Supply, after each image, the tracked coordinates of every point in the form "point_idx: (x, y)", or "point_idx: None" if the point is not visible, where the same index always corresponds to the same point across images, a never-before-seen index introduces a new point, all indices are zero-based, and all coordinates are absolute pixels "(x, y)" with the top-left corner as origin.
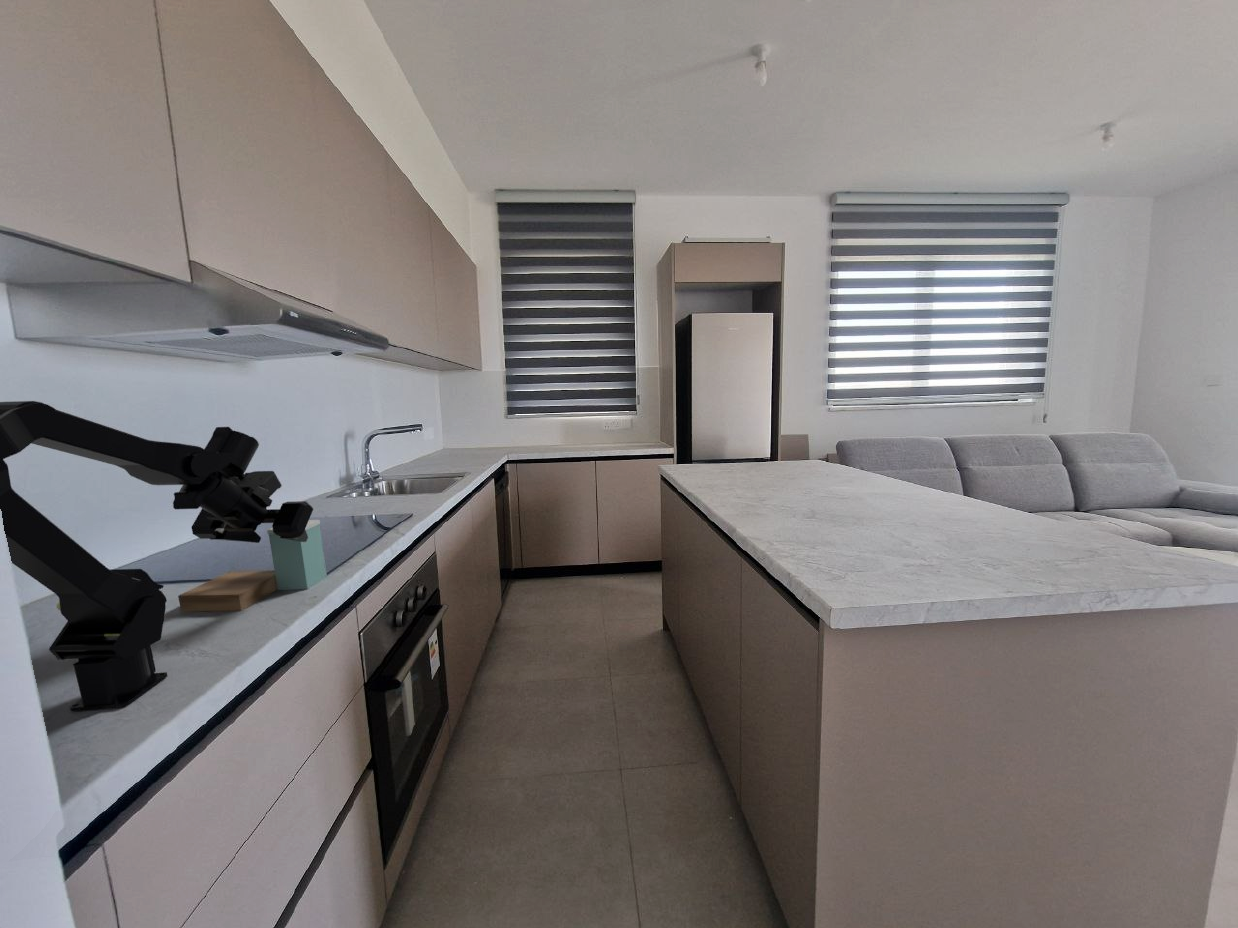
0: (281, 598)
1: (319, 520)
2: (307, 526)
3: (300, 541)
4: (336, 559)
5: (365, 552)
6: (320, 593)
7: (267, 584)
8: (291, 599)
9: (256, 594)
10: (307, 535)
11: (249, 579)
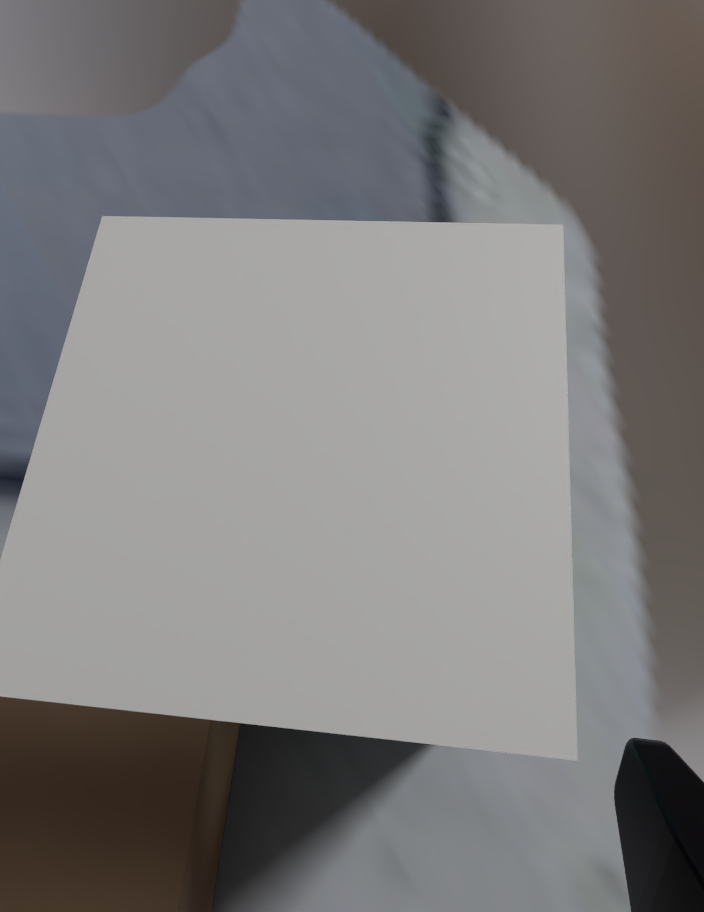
0: (365, 870)
1: (561, 236)
2: (565, 515)
3: (636, 905)
4: None
5: (487, 156)
6: (611, 819)
7: (212, 780)
8: (453, 906)
9: (199, 909)
10: (693, 773)
11: (58, 757)
